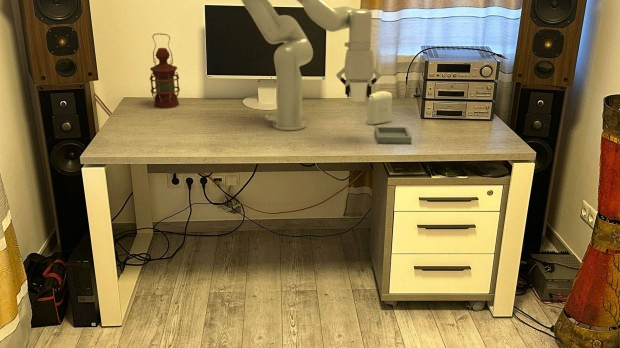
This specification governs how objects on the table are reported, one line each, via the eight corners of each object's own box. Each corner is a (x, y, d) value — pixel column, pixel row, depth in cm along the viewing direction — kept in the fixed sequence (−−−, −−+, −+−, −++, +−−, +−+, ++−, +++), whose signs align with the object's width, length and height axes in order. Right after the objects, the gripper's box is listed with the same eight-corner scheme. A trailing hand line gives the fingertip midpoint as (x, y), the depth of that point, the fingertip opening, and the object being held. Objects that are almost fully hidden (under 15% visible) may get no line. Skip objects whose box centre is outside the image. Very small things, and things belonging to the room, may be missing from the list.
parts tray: (377, 143, 226) (377, 137, 225) (374, 133, 238) (374, 126, 237) (411, 144, 226) (411, 137, 226) (406, 133, 238) (406, 127, 237)
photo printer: (385, 118, 254) (387, 88, 250) (392, 121, 251) (394, 91, 246) (365, 123, 249) (366, 92, 244) (372, 125, 246) (373, 94, 241)
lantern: (185, 102, 274) (181, 31, 262) (173, 110, 263) (168, 36, 251) (159, 100, 276) (153, 30, 265) (146, 107, 265) (140, 35, 254)
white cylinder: (361, 103, 222) (362, 83, 219) (344, 100, 225) (345, 81, 223) (370, 99, 227) (371, 79, 225) (354, 96, 231) (354, 77, 228)
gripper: (334, 47, 216) (333, 99, 223) (385, 48, 216) (383, 99, 222) (334, 43, 223) (333, 93, 230) (383, 44, 223) (381, 94, 229)
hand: (358, 96), depth 226 cm, fingers closed on white cylinder, 6 cm apart
